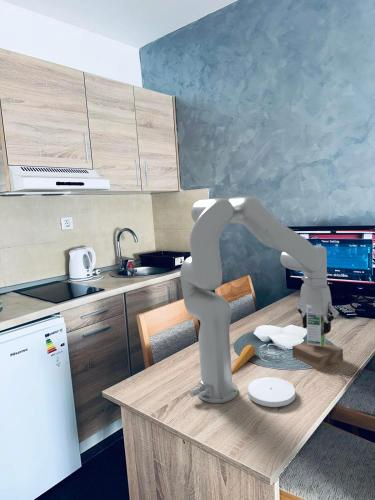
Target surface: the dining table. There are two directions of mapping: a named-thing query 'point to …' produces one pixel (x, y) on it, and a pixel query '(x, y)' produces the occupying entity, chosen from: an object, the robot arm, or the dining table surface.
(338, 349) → the walnut block
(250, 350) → the carrot
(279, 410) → the dining table surface
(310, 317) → the syrup box
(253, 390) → the plastic lid
